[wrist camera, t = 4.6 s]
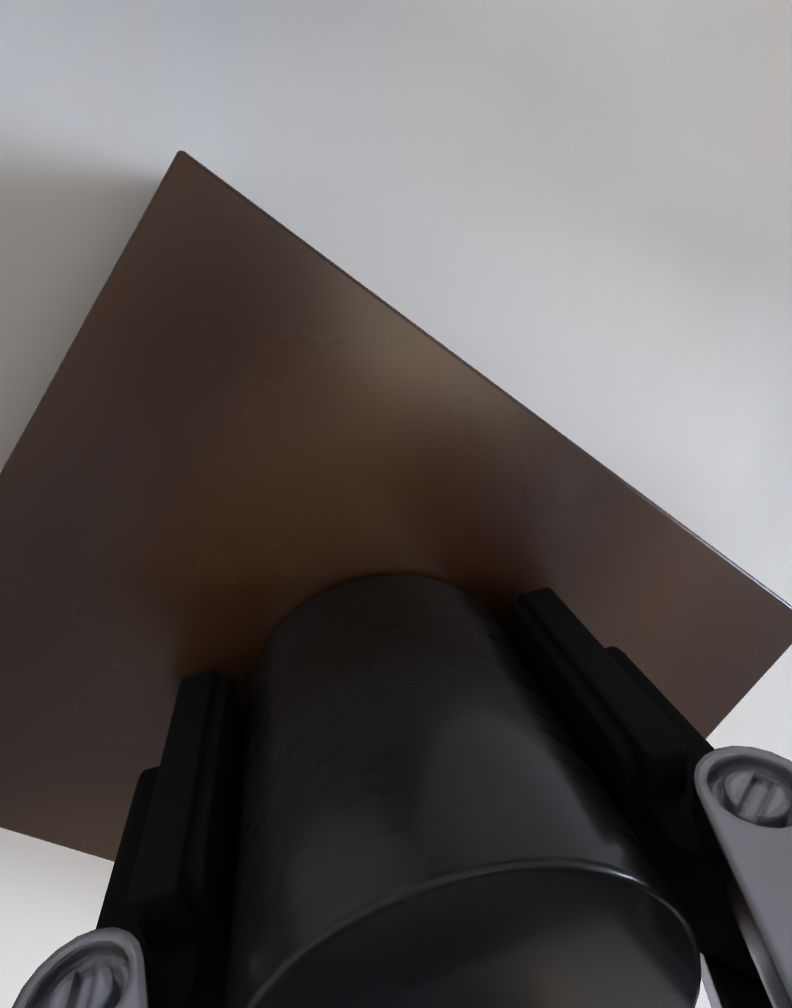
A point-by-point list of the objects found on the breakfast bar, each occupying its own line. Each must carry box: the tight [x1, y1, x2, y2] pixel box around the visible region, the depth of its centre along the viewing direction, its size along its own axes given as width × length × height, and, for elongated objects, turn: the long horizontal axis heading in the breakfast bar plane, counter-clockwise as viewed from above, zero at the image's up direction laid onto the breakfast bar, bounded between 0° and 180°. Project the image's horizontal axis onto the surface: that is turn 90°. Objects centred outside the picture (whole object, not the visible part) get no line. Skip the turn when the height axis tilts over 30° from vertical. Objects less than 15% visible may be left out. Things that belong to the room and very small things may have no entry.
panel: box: [0, 150, 792, 862], centre depth 12 cm, size 14×11×3 cm
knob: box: [224, 575, 702, 1008], centre depth 8 cm, size 5×5×6 cm
